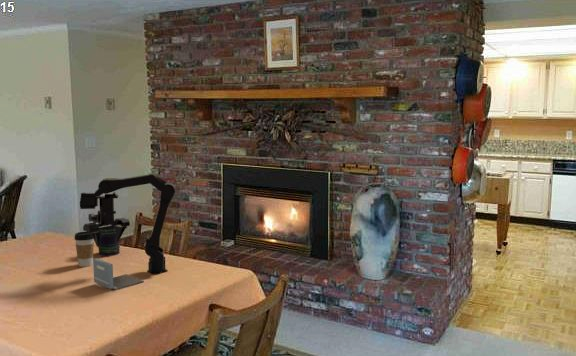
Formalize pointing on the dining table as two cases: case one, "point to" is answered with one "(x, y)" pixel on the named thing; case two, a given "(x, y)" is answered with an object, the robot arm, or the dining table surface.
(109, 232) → the storage jar
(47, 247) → the dining table surface
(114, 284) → the plate
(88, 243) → the coffee cup
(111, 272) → the grey rectangular slab
